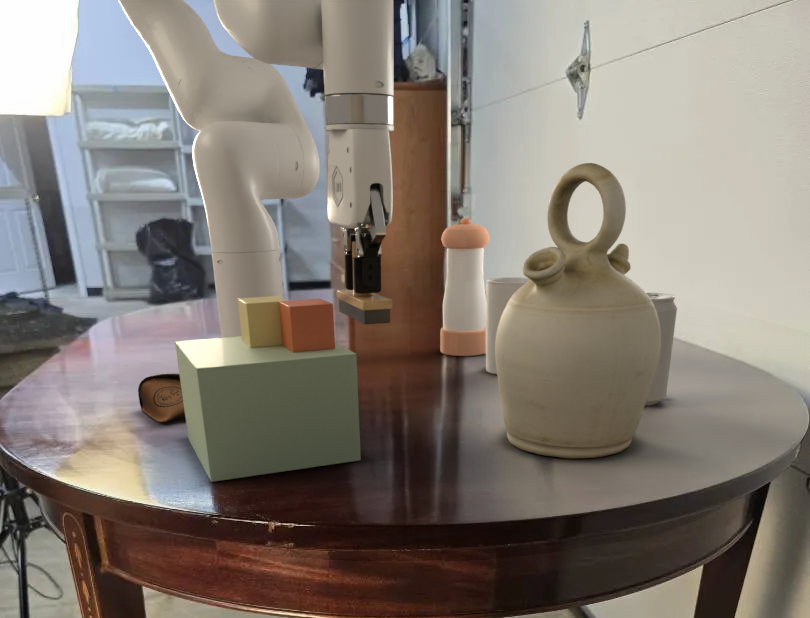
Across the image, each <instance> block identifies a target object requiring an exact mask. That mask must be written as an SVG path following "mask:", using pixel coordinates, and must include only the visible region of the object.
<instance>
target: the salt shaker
mask: <svg viewBox="0 0 810 618" xmlns="http://www.w3.org/2000/svg"><path fill="white" fill-rule="evenodd" d="M459 222H460V224H451V225H449V226H447V227H446V228H445V229H444V231H443V232H442V233H441V238H440V240H441V243H442V246H443V247H444V248H447V249H446V279H445V286H444V292H443V300H442V326H441V328H440V332H439V333H440V335H439V336H440V337H439V338H440V340H439V342H440V343H439V345H440V348H439V349H440V353H441V354H443V355H448V356H455V357H456V356H457V357H470V356H471V357H472V356H480V355H484V354H486V288H485V282H484V258H485V257H484V255H485V249H484V248H485V247H487V246H488V244H489V242H490V239H491V238H490V234H489V231H488V230H487V228H486V227H484V226H483V225H481V224H476V223H475V224H474V223H472V220H471V218H469V217H462V218H461V219H460V221H459Z"/></svg>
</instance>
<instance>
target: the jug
mask: <svg viewBox="0 0 810 618" xmlns="http://www.w3.org/2000/svg"><path fill="white" fill-rule="evenodd" d="M584 182H587V183H589V184H591V185H592V186H593V187H594V188H595V190H597V191H598V193H599V195H600V199H601V203H602V211H603V214H602V215H603V217H602V223H601V226H600V229H599V230H598V233H597V234H596V235H595V237H594V238H592V239H591V240H589V241H582V240H579V239H578V238H577V237H575V236H574V234H573V233H572V231H571V228H570V225H569V218H568V216H569V215H568V213H569V206H570V202H571V199H572V197H573V194H574V192H575V191H576V190H577V188H578V187H580V185H581V184H583V183H584ZM626 205H627V204H626V196H625V192H624V190H623V186H622V185H621V182H620V181H619V180H618V178H617V177H616V176H615V175H614V173H613V172H611V170H609V169H608V168H606V167H605V166H602V165H600V164H598V163H595V162H594V163H593V162H586V163H580V164H578V165H575V166H573V167H572V168H570V169H569V170H567V171H566V172H565V173H564V174H563V175H562V176H561V177H560V179H558V181H557V182H556V184H555V185H554V187H553V189H552V191H551V194H550V196H549V201H548V205H547V213H546V219H547V220H546V221H547V229H548V232H549V235H550V238H551V240H552V241H553V243H554V245H555V246H549V247H545V248H541V249H539V250H536V251H534V252H533V253H532V254H530V255H529V256H528V257H527V258H526V259H525V261H524V263H523V265H522V273H523V276H525V278H529V279H531V280H530V281H528V282H527V283H526V284H524V285H523V286H522V287H521V288H520V289H518V290H517V291H516V292H515V293H514V294H513V295H512V297H511V298H510V300H509V301H508V303H507V306H506V308H505V309H504V311H503V314H502V316H501V319H500V322H499V325H498V329H497V334H496V341H495V358H496V369H497V374H496V375H497V384H498V389H499V394H500V401H501V411H502V419H503V423H504V426H505V428H506V437H507V440H508V442H509V443H510V444H511V445H512V446H514V447H515V448H517V449H519V450H522V451H525V452H528V453H533V454H535V455H539V456H545V457H555V458H561V459H569V460H572V459H596V458H601V457H607V456H612V455H614V454H618V453H620V452H622V451H624V450H626V449H627V448H629V446H630V445H631V443H632V441H633V437H634V436H635V434H636V432H637V429H638V426H639V425H640V421H641V418H642V415H643V412H644V408H645V407H646V406H645V403H646V400H647V397H648V395H649V392H650V389H651V385H652V382H653V379H654V376H655V372H656V369H657V365H658V362H659V357H660V349H661V330H660V323H659V318H658V315H657V312H656V310H655V307H654V304H653V302H652V300H651V299H650V297H649V296H648V295H647V294H646V293H647V292H646V291H645V290H644V289H643V288H642V287H641V286H640V285H639V284H637V283H636V282H635V281H634V280H633V279H631V277H628V275H626V274H627V273H628V272H629V271H630V270H631V269H632V268H631V263H630V261H629V258H630V257H629V256H630V250H629V246H628V245H627V244H625V243H619V244H617V245H616V246H615V247H614V248H613V249H611V248H612V247H613V246H614V245H615V244H616V242H617V241H618V239H619V238H620V235H621V233H622V231H623V228H624V225H625V220H626V214H627V206H626ZM610 249H611V251H610V252H609V250H610Z"/></svg>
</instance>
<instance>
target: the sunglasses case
mask: <svg viewBox="0 0 810 618" xmlns="http://www.w3.org/2000/svg"><path fill="white" fill-rule="evenodd" d="M137 393H138V401H139V405H140V410H141V412H142V413H143V414H144V415H146V416H147V417H148V418H149V419H151V420H152V421H155V422H158V423H170V422H173V421H177V420H182V419H186V418H185V411H184V403H183V396H182V389H181V382H180V375H179V372H177V373H160V374H155V375H150V376H147V377H145V378H143V379H142V380H141V381H140V382H139V384H138V388H137Z"/></svg>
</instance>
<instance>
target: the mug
mask: <svg viewBox="0 0 810 618" xmlns="http://www.w3.org/2000/svg"><path fill="white" fill-rule="evenodd" d="M530 280H531V279H529V278H528V277H521V276H520V277H518V276H517V277H516V276H508V277H507V276H506V277H493V278H488V279H486V288H485V297H486V324H485V327H486V353H485V370H486V372H487V373H488V374H492V375H497V369H496V358H495V341H496V334H497V329H498V325H499V322H500V319H501V316H502V314H503V311H504V309H505V308H506V306H507V303H508V301H509V300H510V298H511V297H512V295H513V294H514V293H515V292H516V291H517V290H518V289H520V288H521V287H522V286H523V285H524V284H526V283H527V282H528V281H530Z"/></svg>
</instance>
